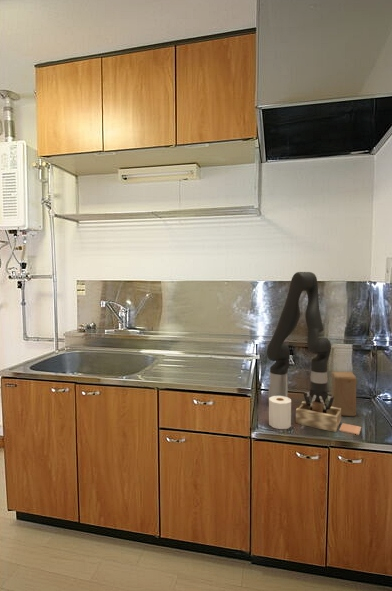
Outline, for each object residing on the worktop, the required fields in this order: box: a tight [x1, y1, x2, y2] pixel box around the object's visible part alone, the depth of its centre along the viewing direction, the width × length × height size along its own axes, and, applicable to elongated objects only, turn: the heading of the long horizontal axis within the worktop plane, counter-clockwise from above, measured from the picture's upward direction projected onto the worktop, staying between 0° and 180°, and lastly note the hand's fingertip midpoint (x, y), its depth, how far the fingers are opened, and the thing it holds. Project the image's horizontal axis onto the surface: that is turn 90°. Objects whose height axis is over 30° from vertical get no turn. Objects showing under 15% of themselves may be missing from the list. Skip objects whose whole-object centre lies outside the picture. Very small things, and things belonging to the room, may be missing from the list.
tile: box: [338, 422, 362, 436], centre depth 156 cm, size 8×8×1 cm
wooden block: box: [331, 370, 357, 417], centre depth 175 cm, size 10×10×20 cm
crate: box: [295, 400, 342, 433], centre depth 163 cm, size 18×12×7 cm, turn 58°
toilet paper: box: [268, 396, 292, 430], centre depth 162 cm, size 10×10×12 cm
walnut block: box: [311, 401, 323, 413], centre depth 163 cm, size 4×5×8 cm
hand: (318, 415), depth 163 cm, fingers closed on walnut block, 4 cm apart
